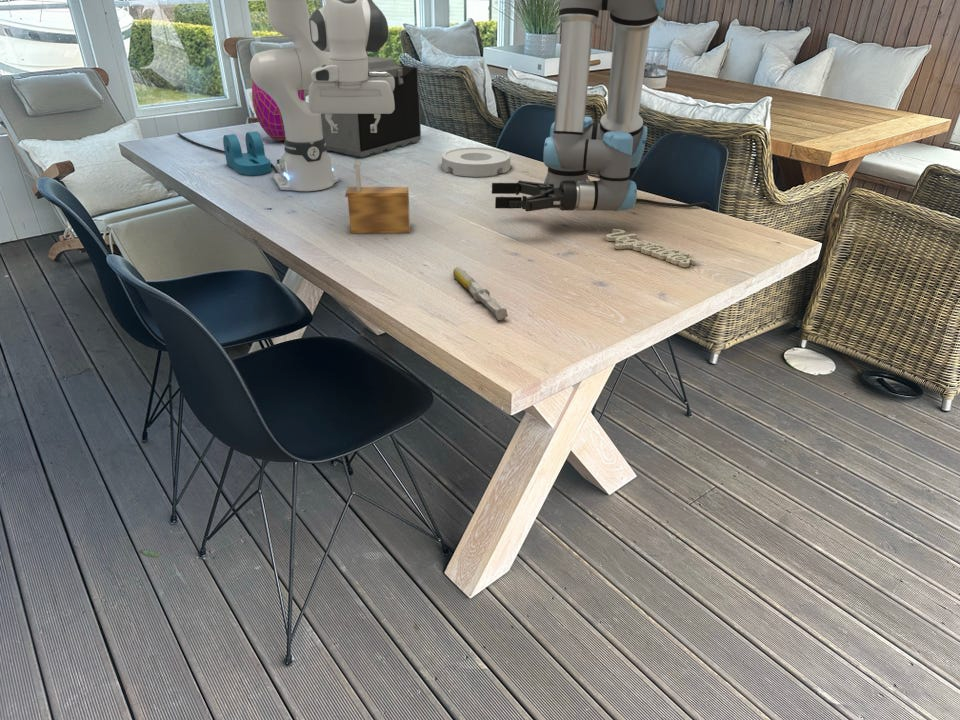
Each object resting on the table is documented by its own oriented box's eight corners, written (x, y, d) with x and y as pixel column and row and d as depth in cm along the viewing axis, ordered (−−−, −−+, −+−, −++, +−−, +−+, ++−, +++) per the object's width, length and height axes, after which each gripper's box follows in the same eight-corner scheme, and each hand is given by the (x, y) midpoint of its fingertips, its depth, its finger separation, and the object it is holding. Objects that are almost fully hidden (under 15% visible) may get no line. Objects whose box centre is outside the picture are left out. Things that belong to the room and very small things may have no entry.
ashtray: (444, 158, 243) (444, 146, 241) (509, 159, 243) (510, 147, 241) (439, 176, 224) (438, 163, 222) (510, 177, 223) (510, 165, 221)
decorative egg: (293, 132, 276) (283, 50, 261) (319, 140, 264) (310, 56, 249) (249, 139, 265) (236, 54, 250) (273, 148, 253) (261, 60, 238)
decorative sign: (591, 236, 174) (616, 227, 180) (591, 240, 174) (616, 231, 180) (679, 267, 157) (703, 256, 163) (678, 271, 158) (703, 260, 163)
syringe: (449, 274, 155) (449, 263, 153) (465, 272, 156) (464, 260, 154) (490, 323, 135) (491, 310, 133) (508, 319, 136) (508, 307, 134)
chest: (350, 233, 177) (347, 197, 173) (353, 226, 182) (350, 190, 177) (409, 232, 178) (407, 196, 173) (410, 225, 183) (408, 190, 178)
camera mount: (227, 164, 233) (221, 132, 227) (257, 160, 238) (252, 129, 233) (244, 176, 220) (239, 143, 215) (276, 172, 225) (271, 139, 220)
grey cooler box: (383, 133, 276) (378, 52, 261) (425, 141, 265) (422, 56, 250) (314, 150, 251) (304, 61, 235) (358, 160, 240) (350, 67, 224)
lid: (345, 196, 173) (342, 164, 168) (348, 190, 177) (345, 158, 173) (407, 196, 173) (406, 164, 169) (408, 190, 178) (407, 158, 174)
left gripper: (395, 69, 163) (397, 129, 171) (308, 69, 163) (314, 129, 170) (393, 73, 158) (396, 135, 165) (303, 73, 157) (310, 135, 164)
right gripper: (568, 169, 187) (490, 168, 186) (585, 194, 165) (497, 193, 164) (566, 196, 190) (490, 196, 189) (582, 224, 169) (496, 224, 167)
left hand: (354, 132), depth 167 cm, fingers open, 8 cm apart
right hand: (493, 195), depth 177 cm, fingers open, 13 cm apart
